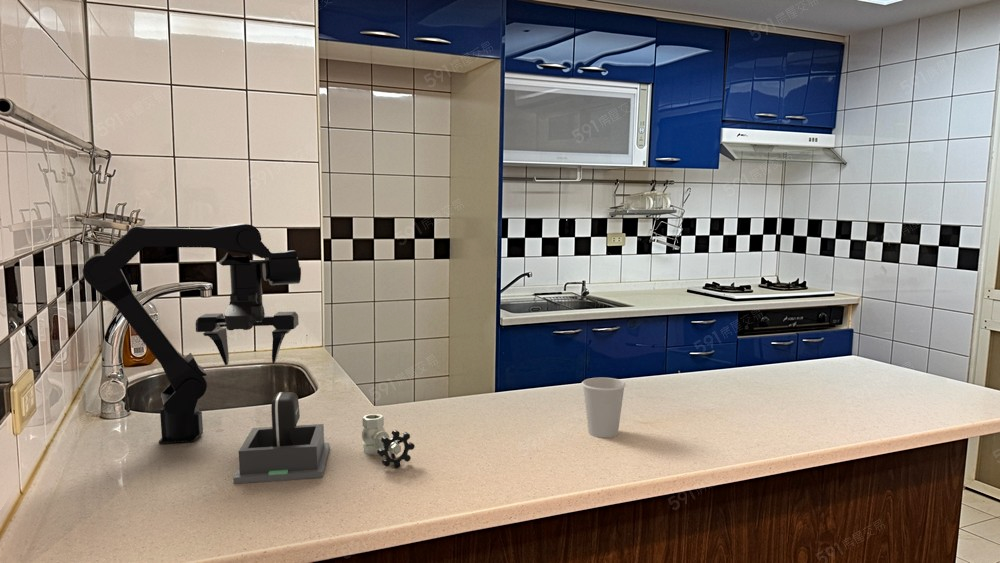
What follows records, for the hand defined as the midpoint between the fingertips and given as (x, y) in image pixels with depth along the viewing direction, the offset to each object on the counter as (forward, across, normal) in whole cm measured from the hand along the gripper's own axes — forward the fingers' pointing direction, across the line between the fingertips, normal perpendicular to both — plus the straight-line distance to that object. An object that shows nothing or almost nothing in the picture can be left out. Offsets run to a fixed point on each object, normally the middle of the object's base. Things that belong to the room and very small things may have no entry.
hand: (250, 363), depth 141 cm
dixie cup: (+13, +69, -14) cm, 72 cm away
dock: (+13, +10, -22) cm, 28 cm away
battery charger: (+12, +11, -22) cm, 28 cm away
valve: (+13, +27, -21) cm, 37 cm away
